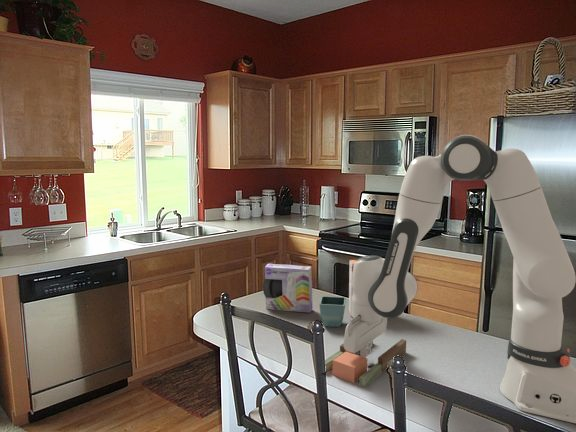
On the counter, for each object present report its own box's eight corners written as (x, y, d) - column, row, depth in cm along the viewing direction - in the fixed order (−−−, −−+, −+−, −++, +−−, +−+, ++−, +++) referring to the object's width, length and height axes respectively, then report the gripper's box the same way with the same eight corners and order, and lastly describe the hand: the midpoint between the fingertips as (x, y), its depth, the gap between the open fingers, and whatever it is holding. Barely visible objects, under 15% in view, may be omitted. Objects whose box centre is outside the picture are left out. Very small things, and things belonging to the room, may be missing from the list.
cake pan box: (262, 309, 176) (262, 265, 173) (266, 304, 181) (266, 262, 178) (309, 314, 170) (310, 269, 168) (312, 309, 175) (313, 266, 172)
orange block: (367, 373, 126) (367, 358, 125) (354, 383, 120) (354, 367, 120) (345, 366, 130) (346, 351, 129) (332, 375, 125) (332, 360, 124)
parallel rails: (405, 352, 138) (406, 340, 138) (364, 387, 118) (364, 373, 117) (365, 340, 147) (365, 329, 146) (320, 371, 126) (320, 358, 126)
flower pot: (318, 328, 157) (319, 303, 156) (321, 319, 165) (321, 295, 164) (344, 330, 155) (344, 305, 154) (345, 320, 164) (345, 297, 163)
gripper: (359, 324, 120) (357, 372, 122) (391, 303, 136) (389, 346, 138) (338, 318, 123) (337, 365, 125) (372, 299, 139) (371, 341, 141)
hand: (365, 355), depth 132 cm, fingers closed
